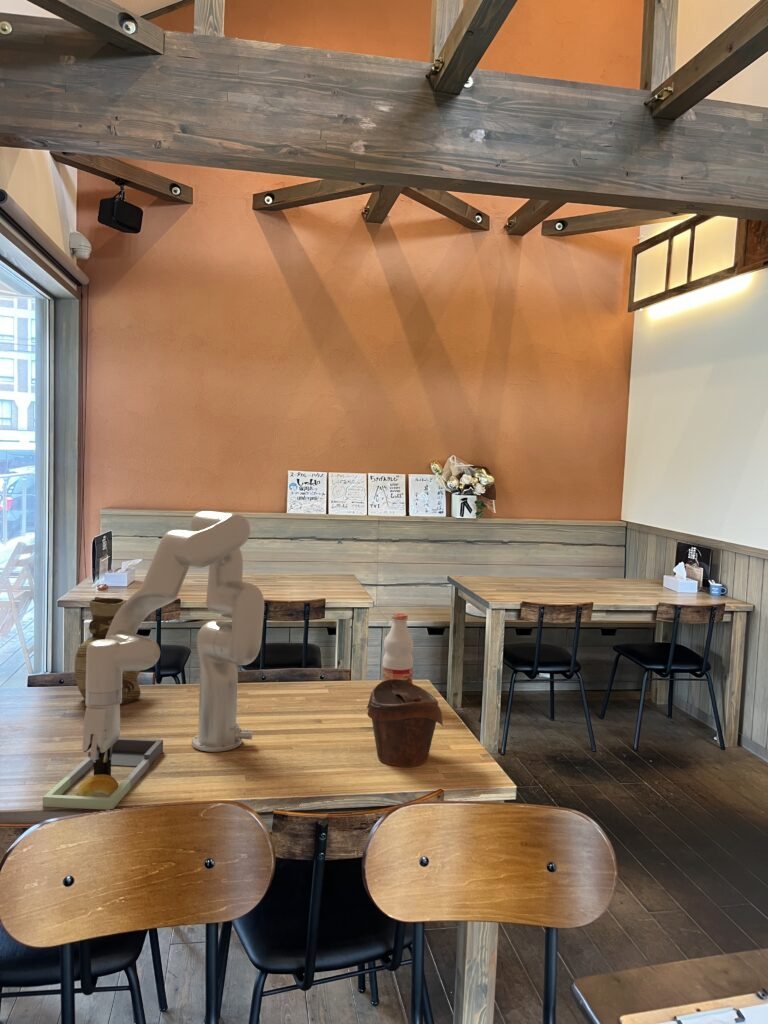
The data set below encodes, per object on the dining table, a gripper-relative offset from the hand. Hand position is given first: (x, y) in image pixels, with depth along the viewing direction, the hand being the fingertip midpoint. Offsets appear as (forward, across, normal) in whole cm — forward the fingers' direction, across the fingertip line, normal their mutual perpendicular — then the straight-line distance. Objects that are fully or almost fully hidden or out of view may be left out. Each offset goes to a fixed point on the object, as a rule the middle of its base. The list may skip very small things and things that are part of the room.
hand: (102, 777), depth 163 cm
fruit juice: (+1, -65, +65) cm, 92 cm away
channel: (+1, -4, 0) cm, 4 cm away
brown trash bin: (+1, -22, +67) cm, 71 cm away
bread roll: (+2, +6, +2) cm, 7 cm away
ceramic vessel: (+1, -58, -22) cm, 63 cm away
